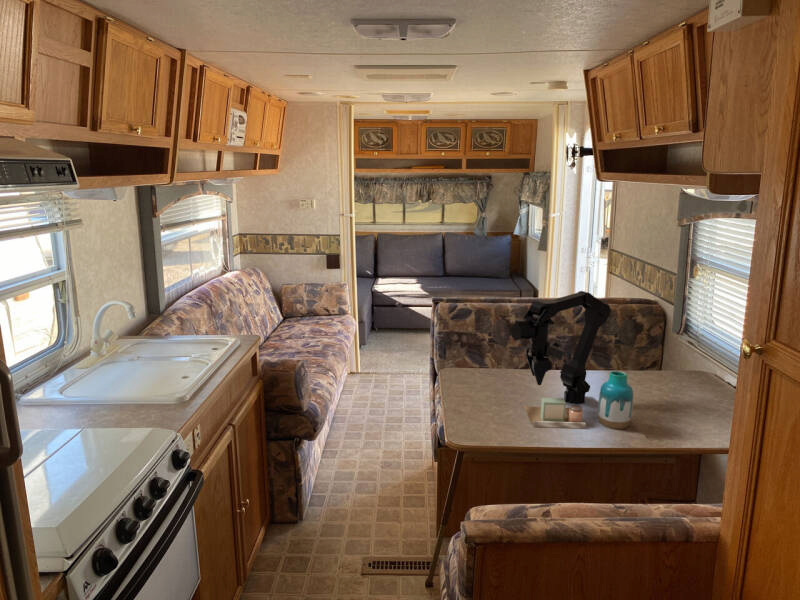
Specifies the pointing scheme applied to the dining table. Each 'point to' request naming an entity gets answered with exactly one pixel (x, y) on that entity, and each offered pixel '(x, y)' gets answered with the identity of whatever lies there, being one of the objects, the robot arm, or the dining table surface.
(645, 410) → the dining table surface
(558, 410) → the tea box
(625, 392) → the vase
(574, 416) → the spice jar
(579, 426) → the wooden tray
